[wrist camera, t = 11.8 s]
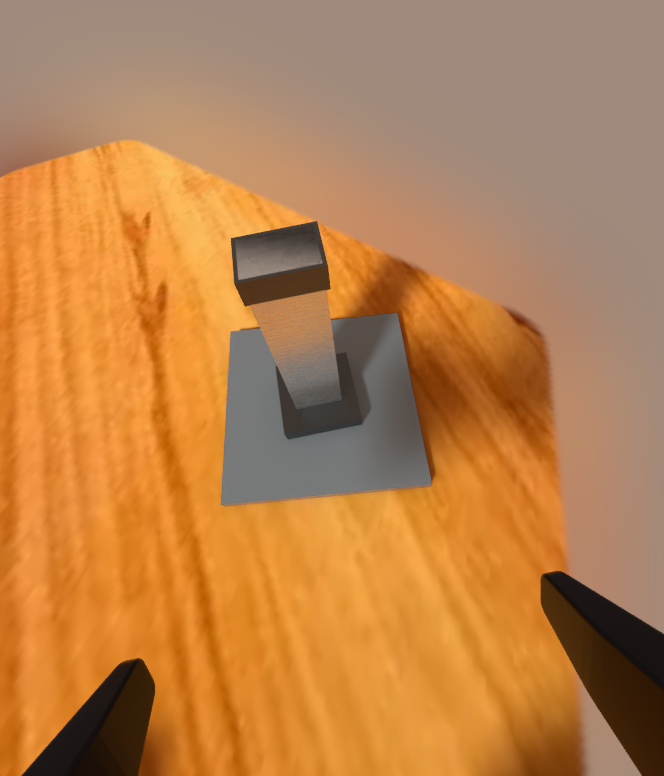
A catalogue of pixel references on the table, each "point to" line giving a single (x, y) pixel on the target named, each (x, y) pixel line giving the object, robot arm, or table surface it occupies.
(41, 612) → the table surface
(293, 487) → the plate
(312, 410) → the tray topped pillar
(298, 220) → the table surface
